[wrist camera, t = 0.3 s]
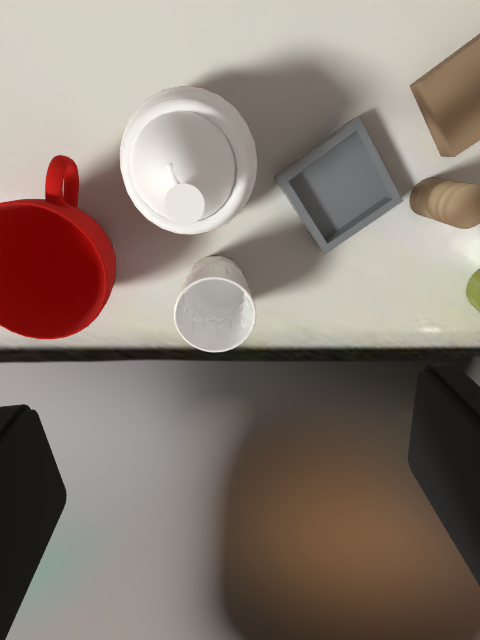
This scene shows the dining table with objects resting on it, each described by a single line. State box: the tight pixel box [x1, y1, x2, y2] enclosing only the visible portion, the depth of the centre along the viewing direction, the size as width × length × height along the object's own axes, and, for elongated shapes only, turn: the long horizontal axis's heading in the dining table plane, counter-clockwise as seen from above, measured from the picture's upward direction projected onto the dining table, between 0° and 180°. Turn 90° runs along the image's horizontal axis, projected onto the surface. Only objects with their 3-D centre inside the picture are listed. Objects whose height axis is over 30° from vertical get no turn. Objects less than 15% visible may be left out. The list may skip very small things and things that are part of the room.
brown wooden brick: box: [410, 34, 480, 157], centre depth 38 cm, size 8×10×3 cm
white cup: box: [174, 256, 256, 352], centre depth 41 cm, size 8×8×10 cm
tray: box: [274, 118, 403, 254], centre depth 41 cm, size 10×10×2 cm
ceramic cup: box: [0, 155, 116, 339], centre depth 38 cm, size 13×17×10 cm
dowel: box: [409, 178, 480, 229], centre depth 39 cm, size 4×4×8 cm
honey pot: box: [120, 86, 258, 235], centre depth 32 cm, size 13×13×18 cm
